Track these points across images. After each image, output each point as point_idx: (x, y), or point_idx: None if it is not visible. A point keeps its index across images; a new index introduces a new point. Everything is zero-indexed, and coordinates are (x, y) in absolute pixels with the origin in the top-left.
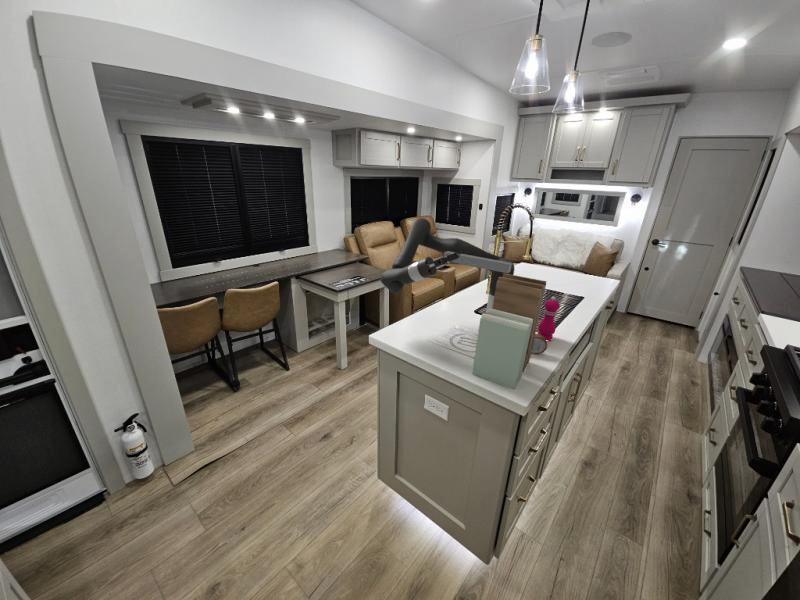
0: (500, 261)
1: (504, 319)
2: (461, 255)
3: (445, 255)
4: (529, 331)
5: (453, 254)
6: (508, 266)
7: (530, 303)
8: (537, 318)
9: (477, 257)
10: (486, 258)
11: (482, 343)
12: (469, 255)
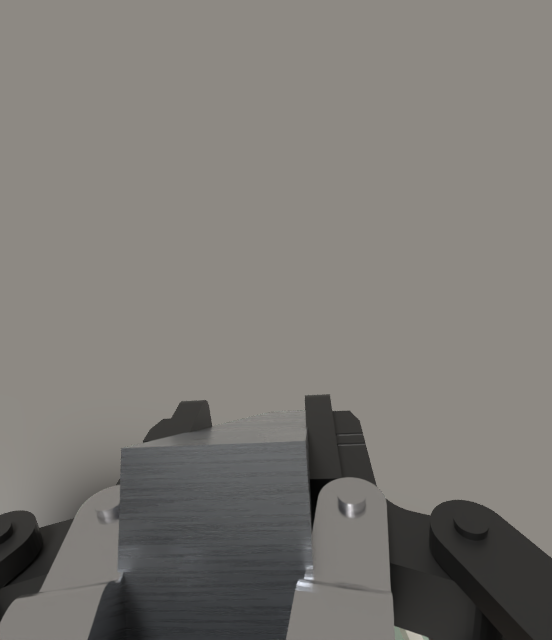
0: (280, 412)
1: (417, 637)
2: (301, 420)
3: (310, 499)
4: None
5: (332, 423)
6: None
7: None
8: None
9: (272, 416)
10: (259, 415)
11: None
12: (241, 421)
